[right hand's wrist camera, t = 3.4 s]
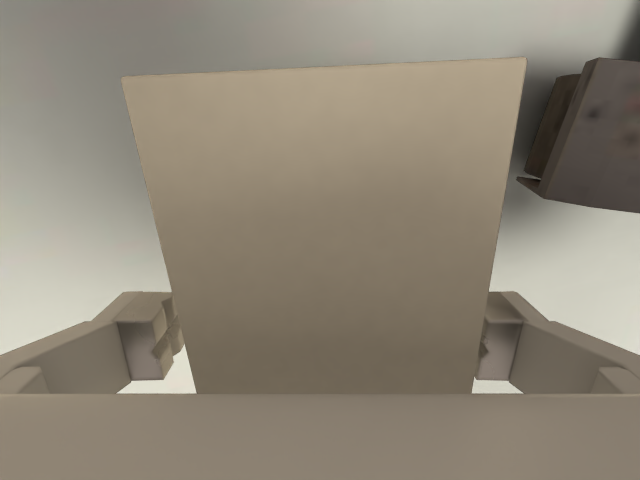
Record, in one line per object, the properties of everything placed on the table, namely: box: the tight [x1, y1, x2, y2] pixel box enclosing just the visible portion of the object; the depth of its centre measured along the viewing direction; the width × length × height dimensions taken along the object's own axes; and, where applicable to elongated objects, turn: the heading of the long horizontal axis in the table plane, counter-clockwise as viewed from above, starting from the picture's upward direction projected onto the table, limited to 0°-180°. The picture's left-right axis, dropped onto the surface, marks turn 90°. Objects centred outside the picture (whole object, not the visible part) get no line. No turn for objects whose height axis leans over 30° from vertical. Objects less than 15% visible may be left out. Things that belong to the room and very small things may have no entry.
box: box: [121, 57, 527, 394], centre depth 15 cm, size 27×6×10 cm, turn 3°
